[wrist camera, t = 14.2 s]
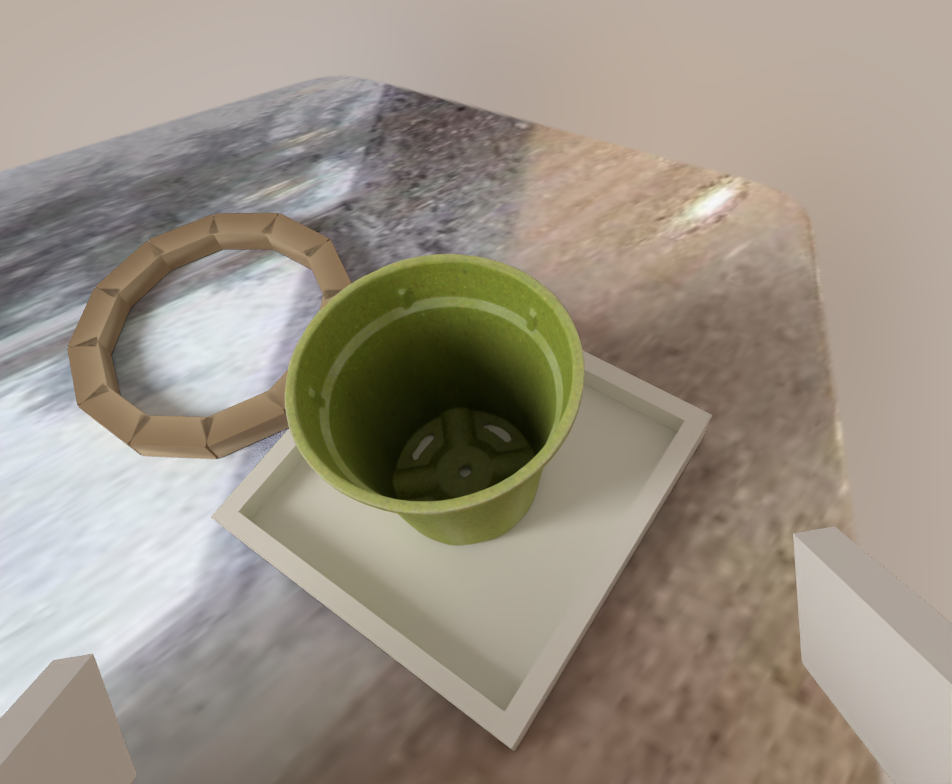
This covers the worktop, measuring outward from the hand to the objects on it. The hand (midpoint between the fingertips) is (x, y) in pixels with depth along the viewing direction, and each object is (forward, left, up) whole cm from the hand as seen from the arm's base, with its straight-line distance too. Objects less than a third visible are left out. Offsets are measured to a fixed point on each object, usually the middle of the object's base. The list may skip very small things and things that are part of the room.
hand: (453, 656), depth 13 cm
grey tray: (-6, +7, -14) cm, 17 cm away
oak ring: (-22, +7, -14) cm, 27 cm away
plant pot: (-6, +7, -13) cm, 16 cm away
